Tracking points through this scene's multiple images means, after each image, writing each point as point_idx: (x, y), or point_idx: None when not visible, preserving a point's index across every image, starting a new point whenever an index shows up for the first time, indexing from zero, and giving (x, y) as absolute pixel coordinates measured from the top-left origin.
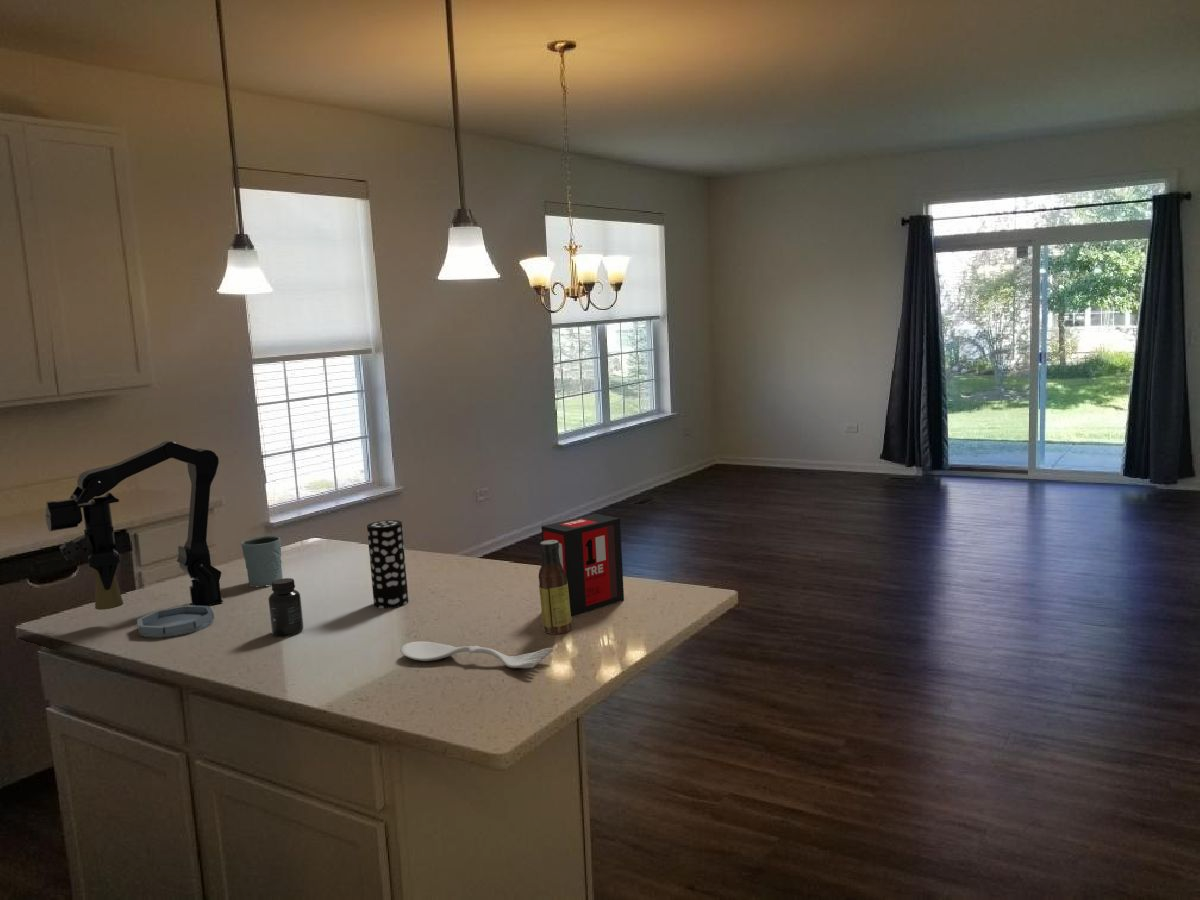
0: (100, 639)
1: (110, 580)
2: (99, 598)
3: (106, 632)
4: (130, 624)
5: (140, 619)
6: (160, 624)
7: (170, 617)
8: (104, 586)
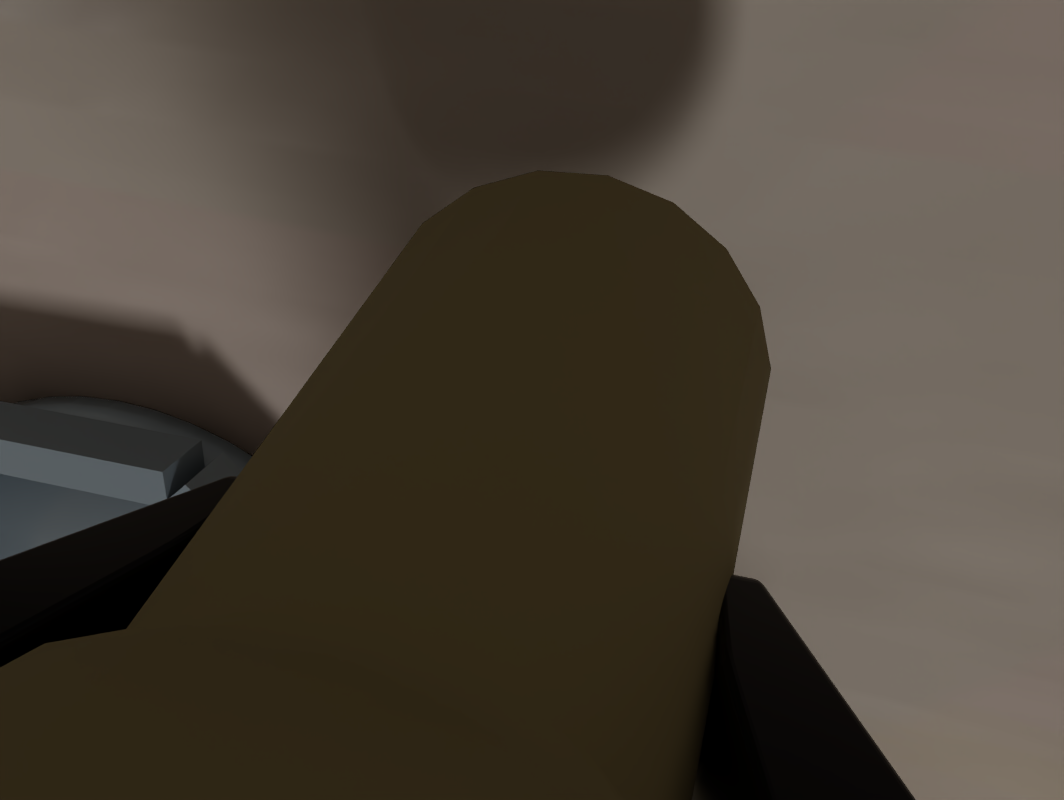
0: (115, 77)
1: None
2: (378, 294)
3: (338, 176)
4: None
5: (154, 498)
6: None
7: None
8: (155, 516)
